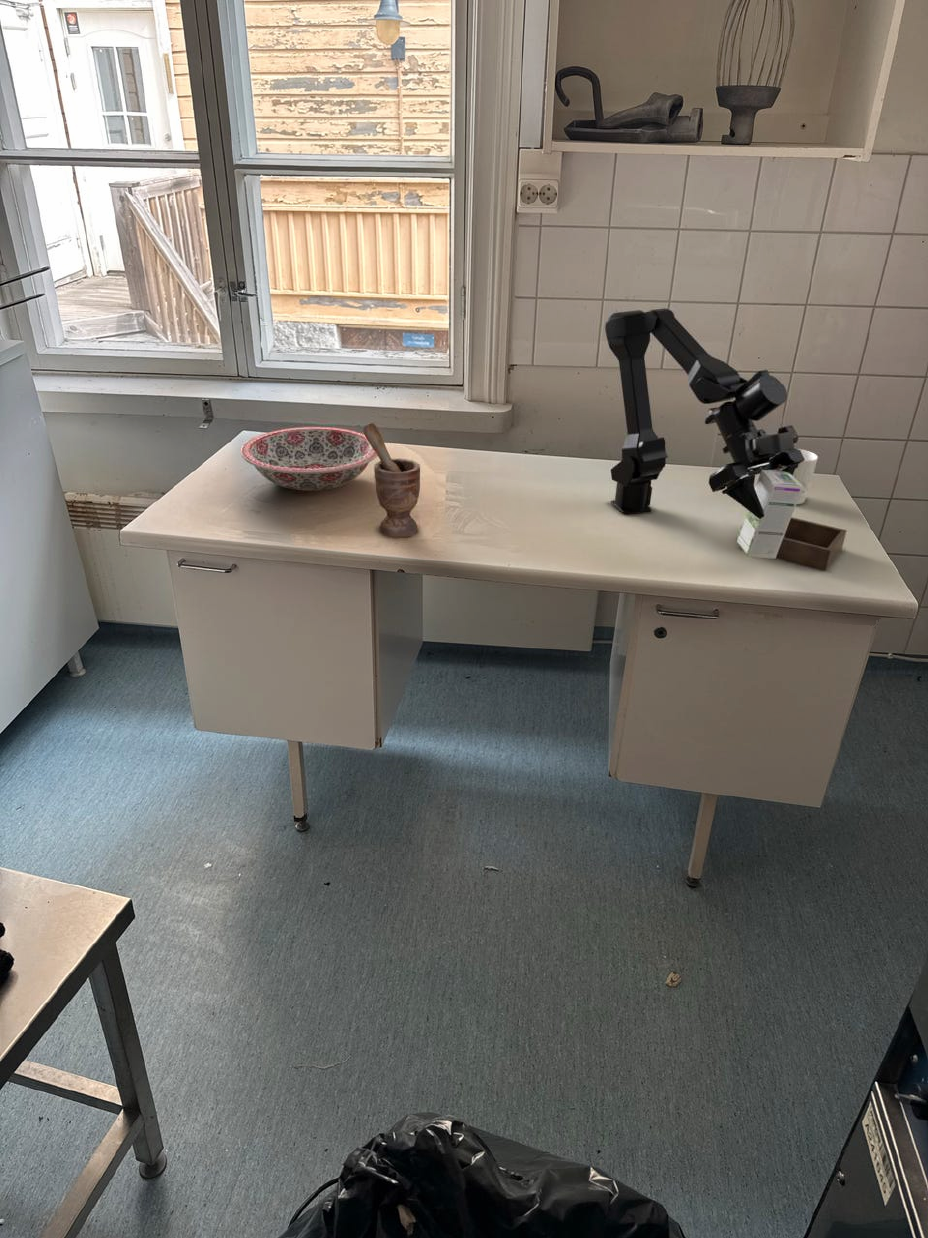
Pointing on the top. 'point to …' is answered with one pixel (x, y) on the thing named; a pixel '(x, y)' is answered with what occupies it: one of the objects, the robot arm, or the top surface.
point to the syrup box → (769, 514)
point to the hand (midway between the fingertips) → (776, 513)
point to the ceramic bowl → (309, 456)
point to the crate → (809, 552)
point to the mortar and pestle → (394, 487)
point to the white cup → (805, 473)
